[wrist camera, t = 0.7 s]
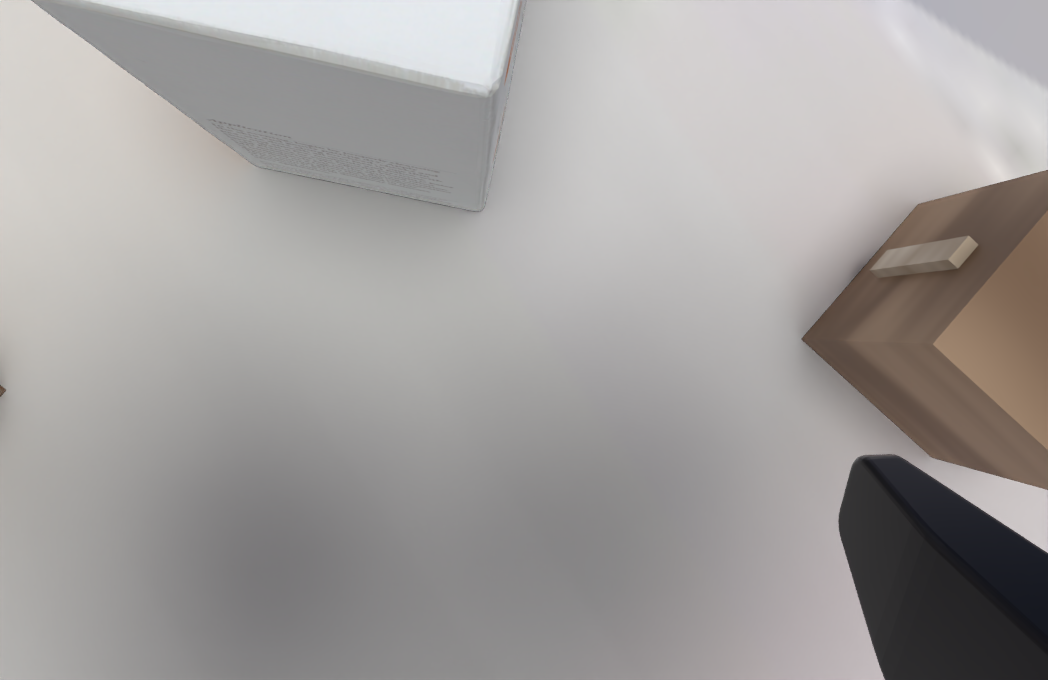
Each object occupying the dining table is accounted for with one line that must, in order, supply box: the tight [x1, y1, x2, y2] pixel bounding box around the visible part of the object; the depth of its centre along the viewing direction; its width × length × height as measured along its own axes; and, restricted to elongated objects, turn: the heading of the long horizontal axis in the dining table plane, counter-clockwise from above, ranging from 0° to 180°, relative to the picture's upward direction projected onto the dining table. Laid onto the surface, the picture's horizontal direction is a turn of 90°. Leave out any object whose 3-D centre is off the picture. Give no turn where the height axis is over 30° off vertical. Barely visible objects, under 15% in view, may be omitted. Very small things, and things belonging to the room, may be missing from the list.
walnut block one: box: [802, 170, 1048, 490], centre depth 22 cm, size 5×5×7 cm
